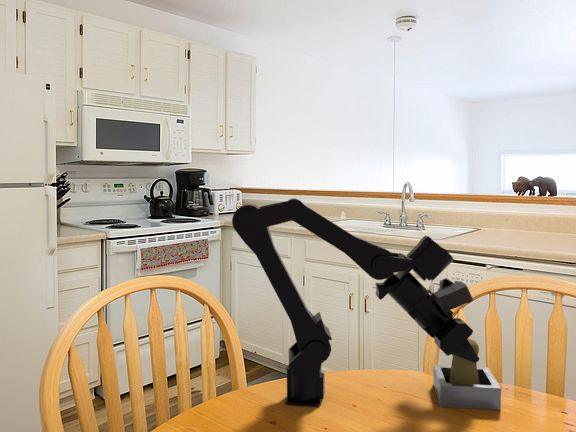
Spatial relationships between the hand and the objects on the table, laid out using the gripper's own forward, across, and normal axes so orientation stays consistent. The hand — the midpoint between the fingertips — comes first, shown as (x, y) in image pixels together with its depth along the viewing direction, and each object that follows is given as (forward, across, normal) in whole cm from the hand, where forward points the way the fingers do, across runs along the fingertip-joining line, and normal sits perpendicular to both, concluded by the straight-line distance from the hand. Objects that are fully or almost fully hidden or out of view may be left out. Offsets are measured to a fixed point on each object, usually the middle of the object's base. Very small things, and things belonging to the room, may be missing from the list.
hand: (472, 355), depth 97 cm
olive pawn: (+5, 0, +7) cm, 8 cm away
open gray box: (+5, 0, +6) cm, 8 cm away
